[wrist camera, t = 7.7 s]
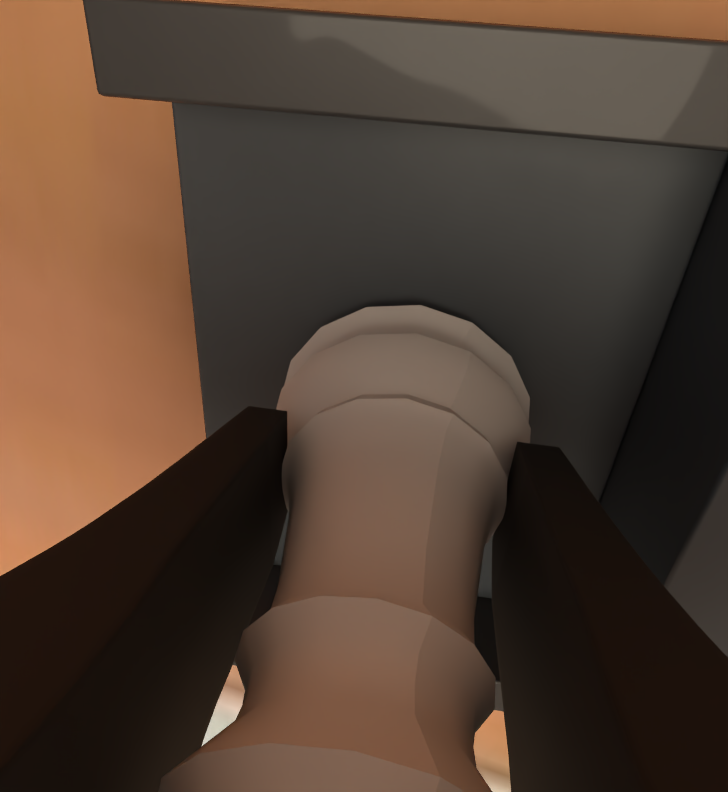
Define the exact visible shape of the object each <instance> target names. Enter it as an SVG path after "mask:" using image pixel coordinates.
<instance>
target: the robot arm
mask: <svg viewBox="0 0 728 792" xmlns="http://www.w3.org/2000/svg"><path fill="white" fill-rule="evenodd" d="M287 446H288V441H287V411H283V410H276V409H268V408H261V407H253V406H248V407H247V408H245V409H244V410H243V411H241V412H240V413H239V414H237V415H236V416H235V417H233V418H232V419H231V420H229V421H228V422H227V423H226V424H224V425H223V426H222V427H221V428H219V429H218V430H217V431H216V432H214V433H213V434H212V435H210V436H209V437H208V438H207V439H205V440H204V441H203V442H202V443H200V444H199V445H198V446H197V447H195V448H194V449H193V450H191V451H190V452H189V453H188V454H186V455H185V456H184V457H182V458H181V459H180V460H178V461H177V462H176V463H174V464H173V465H172V466H170V467H169V468H168V469H166V470H165V471H164V472H162V473H161V474H160V475H159V476H157V477H156V478H155V479H153V480H152V481H151V482H149V483H148V484H146V485H145V486H144V487H142V488H141V489H139V490H138V491H137V492H135V493H134V494H132V495H131V496H129V497H128V498H126V499H125V500H123V501H122V502H120V503H119V504H118V505H116V506H115V507H113V508H112V509H110V510H109V511H107V512H106V513H104V514H103V515H101V516H100V517H99V518H97V519H96V520H94V521H93V522H91V523H90V524H88V525H87V526H85V527H83V528H82V529H80V530H79V531H77V532H75V533H74V534H72V535H71V536H69V537H67V538H66V539H64V540H62V541H61V542H59V543H57V544H56V545H54V546H53V547H51V548H49V549H47V550H46V551H44V552H42V553H40V554H39V555H37V556H35V557H33V558H32V559H30V560H28V561H26V562H25V563H23V564H21V565H19V566H18V567H16V568H14V569H12V570H11V571H9V572H7V573H5V574H3V575H2V576H0V792H158V791H159V786H160V782H161V778H162V777H163V776H164V775H166V774H167V773H168V772H169V771H171V770H172V769H173V768H175V767H176V766H177V765H179V764H180V763H181V762H182V761H184V760H185V759H186V758H188V757H189V756H190V755H191V754H193V753H194V752H195V751H197V750H198V749H199V748H200V747H201V746H202V742H203V739H204V736H205V733H206V731H207V728H208V725H209V723H210V720H211V717H212V714H213V712H214V709H215V706H216V704H217V701H218V699H219V696H220V694H221V691H222V689H223V687H224V684H225V682H226V679H227V677H228V674H229V672H230V670H231V667H232V665H233V662H234V659H235V656H236V653H237V650H238V646H239V643H240V640H241V637H242V633H243V630H245V629H246V628H247V627H248V626H249V624H250V621H251V619H252V616H253V614H254V612H255V609H256V607H257V604H258V602H259V599H260V597H261V594H262V592H263V589H264V587H265V585H266V582H267V580H268V577H269V575H270V572H271V569H272V567H273V563H274V560H275V556H276V553H277V549H278V546H279V542H280V539H281V535H282V531H283V527H284V524H285V520H286V516H287V513H288V510H287V508H286V504H285V500H284V495H283V490H282V463H283V460H284V456H285V453H286V450H287ZM492 610H493V620H494V629H495V638H496V647H497V657H498V665H499V674H500V683H501V692H502V701H503V710H504V719H505V727H506V736H507V745H508V754H509V767H510V781H511V792H728V657H727V656H726V655H725V654H724V653H723V652H722V651H721V650H720V649H719V648H718V646H717V645H716V644H715V643H714V642H713V641H712V640H711V639H710V638H709V637H708V636H707V635H706V634H705V633H704V631H703V630H702V629H701V628H700V627H699V626H698V625H697V624H696V623H695V621H694V620H693V619H692V618H691V617H690V616H689V614H688V613H687V612H686V611H685V610H684V609H683V608H682V606H681V605H680V604H679V603H678V602H677V601H676V600H675V598H674V597H673V596H672V595H671V594H670V593H669V591H668V590H667V589H666V588H665V587H664V586H663V585H662V583H661V582H660V581H659V580H658V579H657V577H656V576H655V575H654V574H653V572H652V571H651V570H650V569H649V568H648V566H647V565H646V564H645V562H644V561H643V560H642V559H641V557H640V556H639V555H638V553H637V552H636V551H635V550H634V548H633V547H632V546H631V545H630V543H629V542H628V541H627V539H626V538H625V537H624V536H623V534H622V533H621V532H620V530H619V529H618V528H617V526H616V525H615V524H614V522H613V521H612V520H611V518H610V517H609V516H608V514H607V513H606V511H605V510H604V509H603V507H602V506H601V505H600V503H599V502H598V500H597V499H596V498H595V496H594V495H593V494H592V492H591V491H590V489H589V488H588V487H587V485H586V484H585V482H584V481H583V479H582V478H581V477H580V475H579V474H578V472H577V471H576V470H575V468H574V467H573V465H572V464H571V463H570V461H569V460H568V458H567V457H566V456H565V454H564V453H563V452H562V450H561V449H560V448H559V447H554V446H546V445H539V444H531V443H524V442H517V444H516V448H515V452H514V456H513V460H512V464H511V468H510V472H509V476H508V480H507V501H506V508H505V513H504V516H503V519H502V521H501V522H500V524H499V526H498V527H497V529H496V530H495V532H494V535H493V539H492Z"/></svg>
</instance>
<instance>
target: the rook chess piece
mask: <svg viewBox="0 0 728 792" xmlns="http://www.w3.org/2000/svg"><path fill="white" fill-rule="evenodd" d="M529 407H530V397H529V395H528V392H527V390H526V388H525V386H524V383H523V381H522V379H521V377H520V375H519V372H518V370H517V368H516V366H515V363H514V361H513V359H512V357H511V356H510V355H509V354H508V353H507V352H506V351H505V350H504V349H502V348H501V347H500V346H499V345H498V344H497V343H495V342H494V341H493V340H492V339H491V338H490V337H489V336H487V335H486V334H485V333H484V332H483V331H482V330H480V329H479V328H478V327H477V326H476V325H475V324H474V323H472V322H469V321H466V320H463V319H460V318H457V317H454V316H451V315H449V314H446V313H443V312H440V311H437V310H434V309H431V308H428V307H425V306H422V305H408V306H380V307H365V308H363V309H361V310H359V311H356V312H354V313H352V314H350V315H347V316H345V317H343V318H341V319H338V320H336V321H334V322H331V323H329V324H327V325H325V326H322V327H320V329H319V330H318V331H317V332H316V333H315V334H314V335H313V336H312V338H311V339H310V340H309V341H308V342H307V343H306V344H305V345H304V346H303V348H302V349H301V350H300V351H299V352H298V353H297V354H296V355H295V357H294V358H293V359H292V360H291V362H290V366H289V369H288V373H287V377H286V381H285V384H284V387H283V388H282V389H281V393H280V396H279V400H278V404H277V408H276V410H283V411H287V441H288V446H287V450H286V453H285V456H284V460H283V463H282V490H283V495H284V500H285V504H286V508H287V510H288V511H289V518H288V524H287V531H286V537H285V543H284V550H283V556H282V562H281V569H280V575H279V581H278V588H277V591H276V594H275V597H274V600H273V603H272V606H271V609H270V610H269V611H268V612H266V613H265V614H264V615H263V616H261V617H260V618H259V619H258V620H256V621H255V622H254V623H252V624H251V625H250V626H249V627H247V628H246V629H245V630H243V633H242V637H241V640H240V643H239V646H238V650H237V653H236V656H235V659H234V660H235V662H236V665H237V668H238V671H239V674H240V677H241V680H242V683H243V686H244V689H245V694H244V700H243V705H242V707H241V710H240V712H239V714H238V716H237V718H236V720H235V721H234V722H233V723H232V724H230V725H229V726H228V727H226V728H225V729H224V730H222V731H221V732H220V733H219V734H217V735H216V736H215V737H213V738H212V739H211V740H210V741H208V742H207V743H206V744H204V745H203V746H202V747H200V748H199V749H198V750H197V751H195V752H194V753H193V754H191V755H190V756H189V757H188V758H186V759H185V760H184V761H182V762H181V763H180V764H179V765H177V766H176V767H175V768H173V769H172V770H171V771H169V772H168V773H167V774H166V775H164V776H163V777H162V778H161V782H160V786H159V791H158V792H492V791H491V789H490V788H489V786H488V785H487V783H486V782H485V780H484V779H483V777H482V776H481V774H480V773H479V771H478V770H477V768H476V762H475V755H474V749H473V744H474V736H475V732H476V731H477V730H478V729H479V728H480V726H481V725H482V724H483V723H484V721H485V720H486V719H487V718H488V717H489V715H490V714H491V713H492V712H493V710H494V709H495V682H496V677H495V676H494V674H493V673H492V671H491V670H490V668H489V667H488V665H487V663H486V662H485V660H484V659H483V657H482V656H481V654H480V653H479V651H478V650H477V648H476V646H475V641H474V617H475V610H476V603H477V596H478V588H479V581H480V574H481V567H482V560H483V553H484V547H485V544H487V543H488V542H489V540H490V539H491V537H492V535H493V534H494V532H495V530H496V529H497V527H498V526H499V524H500V522H501V521H502V519H503V516H504V513H505V508H506V501H507V480H508V476H509V472H510V468H511V464H512V460H513V456H514V452H515V448H516V444H517V442H524V443H530V435H531V428H530V426H529Z"/></svg>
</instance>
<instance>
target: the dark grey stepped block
mask: <svg viewBox="0 0 728 792" xmlns="http://www.w3.org/2000/svg"><path fill="white" fill-rule="evenodd" d="M83 4H84V10H85V16H86V23H87V29H88V35H89V41H90V47H91V53H92V60H93V66H94V72H95V78H96V84H97V90H98V93H99V94H101V95H103V96H109V97H120V98H131V99H143V100H154V101H165V102H172V108H173V117H174V127H175V137H176V147H177V156H178V166H179V176H180V186H181V195H182V205H183V215H184V225H185V235H186V244H187V254H188V264H189V274H190V283H191V293H192V303H193V313H194V322H195V332H196V342H197V352H198V361H199V371H200V381H201V391H202V400H203V410H204V420H205V430H206V439H207V438H208V437H209V436H210V435H212V434H213V433H214V432H216V431H217V430H218V429H219V428H221V427H222V426H223V425H224V424H226V423H227V422H228V421H229V420H231V419H232V418H233V417H235V416H236V415H237V414H239V413H240V412H241V411H243V410H244V409H245V408H247V407H248V406H253V407H261V408H268V409H276V408H277V404H278V400H279V396H280V393H281V389H282V388H283V387H284V384H285V381H286V377H287V373H288V369H289V366H290V362H291V360H292V359H293V358H294V357H295V355H296V354H297V353H298V352H299V351H300V350H301V349H302V348H303V346H304V345H305V344H306V343H307V342H308V341H309V340H310V339H311V338H312V336H313V335H314V334H315V333H316V332H317V331H318V330H319V329H320V327H322V326H325V325H327V324H329V323H331V322H334V321H336V320H338V319H341V318H343V317H345V316H347V315H350V314H352V313H354V312H356V311H359V310H361V309H363V308H365V307H380V306H408V305H422V306H425V307H428V308H431V309H434V310H437V311H440V312H443V313H446V314H449V315H451V316H454V317H457V318H460V319H463V320H466V321H469V322H472V323H474V324H475V325H476V326H477V327H478V328H479V329H480V330H482V331H483V332H484V333H485V334H486V335H487V336H489V337H490V338H491V339H492V340H493V341H494V342H495V343H497V344H498V345H499V346H500V347H501V348H502V349H504V350H505V351H506V352H507V353H508V354H509V355H510V356H511V357H512V359H513V361H514V363H515V366H516V368H517V370H518V372H519V375H520V377H521V379H522V381H523V383H524V386H525V388H526V390H527V392H528V395H529V397H530V407H529V426H530V428H531V435H530V443H531V444H539V445H546V446H554V447H559V448H560V449H561V450H562V452H563V453H564V454H565V456H566V457H567V458H568V460H569V461H570V463H571V464H572V465H573V467H574V468H575V470H576V471H577V472H578V474H579V475H580V477H581V478H582V479H583V481H584V482H585V484H586V485H587V487H588V488H589V489H590V491H591V492H592V494H593V495H594V496H595V498H596V499H597V500H598V502H599V503H600V505H601V506H602V507H603V509H604V510H605V511H606V513H607V514H608V516H609V517H610V518H611V520H612V521H613V522H614V524H615V525H616V526H617V528H618V529H619V530H620V532H621V533H622V534H623V536H624V537H625V538H626V539H627V541H628V542H629V543H630V545H631V546H632V547H633V548H634V550H635V551H636V552H637V553H638V555H639V556H640V557H641V559H642V560H643V561H644V562H645V564H646V565H647V566H648V568H649V569H650V570H651V571H652V572H653V574H654V575H655V576H656V577H657V579H658V580H659V581H660V582H661V583H662V585H663V586H664V587H665V588H666V589H667V590H668V591H669V593H670V594H671V595H672V596H673V597H674V598H675V600H676V601H677V602H678V603H679V604H680V605H681V606H682V608H683V609H684V610H685V611H686V612H687V613H688V614H689V616H690V617H691V618H692V619H693V620H694V621H695V623H696V624H697V625H698V626H699V627H700V628H701V629H702V630H703V631H704V633H705V634H706V635H707V636H708V637H709V638H710V639H711V640H712V641H713V642H714V643H715V644H716V645H717V646H718V648H719V649H720V650H721V651H722V652H723V653H724V654H725V655H726V656H727V657H728V41H723V40H709V39H695V38H682V37H668V36H655V35H641V34H628V33H614V32H601V31H587V30H574V29H560V28H547V27H533V26H520V25H506V24H492V23H479V22H465V21H452V20H438V19H425V18H411V17H398V16H384V15H371V14H357V13H344V12H330V11H316V10H303V9H289V8H276V7H262V6H249V5H235V4H222V3H208V2H195V1H181V0H83ZM288 518H289V511H288V513H287V516H286V520H285V524H284V527H283V531H282V535H281V539H280V542H279V546H278V549H277V553H276V556H275V560H274V563H273V567H272V569H271V572H270V575H269V577H268V580H267V582H266V585H265V587H264V589H263V592H262V594H261V597H260V599H259V602H258V604H257V607H256V609H255V612H254V614H253V616H252V619H251V621H250V624H249V626H250V625H251V624H252V623H254V622H255V621H256V620H258V619H259V618H260V617H261V616H263V615H264V614H265V613H266V612H268V611H269V610H270V609H271V606H272V603H273V600H274V597H275V594H276V591H277V588H278V581H279V575H280V569H281V562H282V556H283V550H284V543H285V537H286V531H287V524H288ZM493 535H494V534H493ZM493 535H492V537H491V539H490V540H489V542H488V543H487V544H485V547H484V553H483V560H482V567H481V574H480V581H479V588H478V596H477V603H476V610H475V617H474V641H475V646H476V648H477V650H478V651H479V653H480V654H481V656H482V657H483V659H484V660H485V662H486V663H487V665H488V667H489V668H490V670H491V671H492V673H493V674H494V676H495V677H496V682H495V709H494V710H498V711H504V710H503V701H502V692H501V683H500V674H499V665H498V657H497V647H496V638H495V629H494V620H493V610H492V539H493ZM249 626H248V627H249ZM233 665H236V662H235V660H234V662H233ZM236 666H237V665H236Z"/></svg>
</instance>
